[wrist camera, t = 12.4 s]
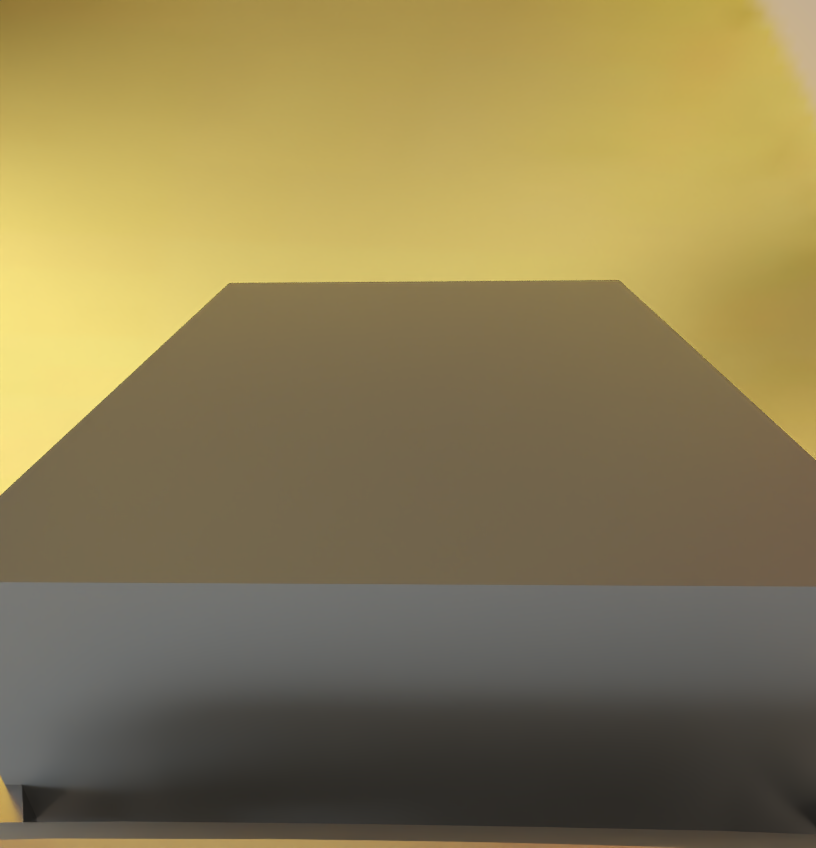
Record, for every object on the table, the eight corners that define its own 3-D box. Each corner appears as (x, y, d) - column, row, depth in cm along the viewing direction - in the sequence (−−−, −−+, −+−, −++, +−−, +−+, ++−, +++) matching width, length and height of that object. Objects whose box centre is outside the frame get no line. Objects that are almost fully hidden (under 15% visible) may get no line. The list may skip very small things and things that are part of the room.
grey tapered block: (229, 283, 13) (-93, 582, 5) (619, 280, 12) (954, 586, 5) (272, 583, 16) (126, 1041, 8) (576, 585, 16) (725, 1056, 8)
